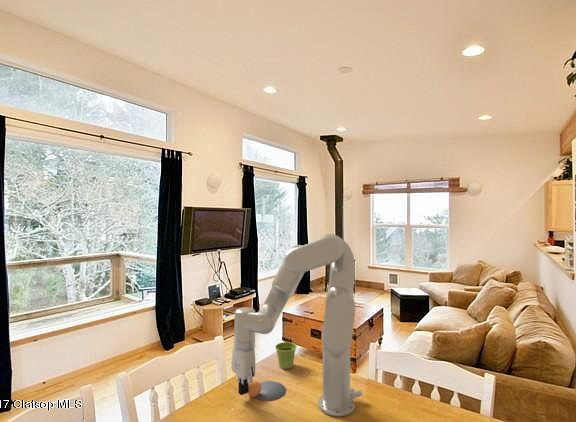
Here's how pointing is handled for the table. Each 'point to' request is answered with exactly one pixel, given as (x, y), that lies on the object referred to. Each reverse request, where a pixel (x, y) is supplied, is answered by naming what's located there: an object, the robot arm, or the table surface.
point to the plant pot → (285, 354)
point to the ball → (254, 388)
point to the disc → (271, 391)
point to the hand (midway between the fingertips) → (243, 392)
